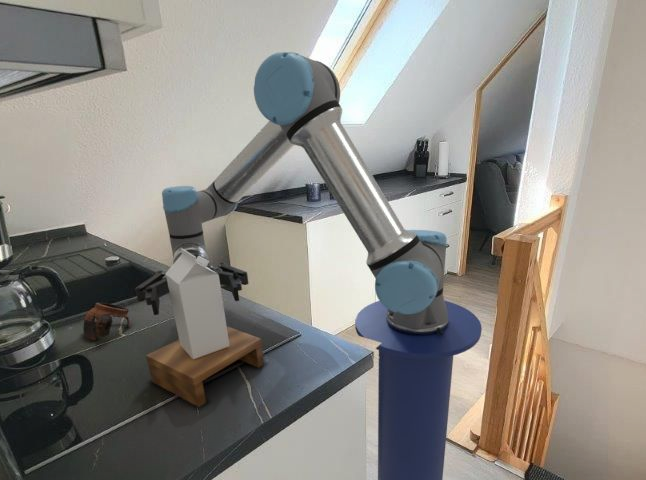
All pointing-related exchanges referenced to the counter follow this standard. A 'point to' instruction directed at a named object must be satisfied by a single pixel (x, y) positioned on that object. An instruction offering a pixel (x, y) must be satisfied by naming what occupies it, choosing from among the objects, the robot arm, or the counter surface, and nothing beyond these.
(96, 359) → the counter surface
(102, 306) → the pottery mug
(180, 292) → the milk carton
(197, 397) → the oak shelf
